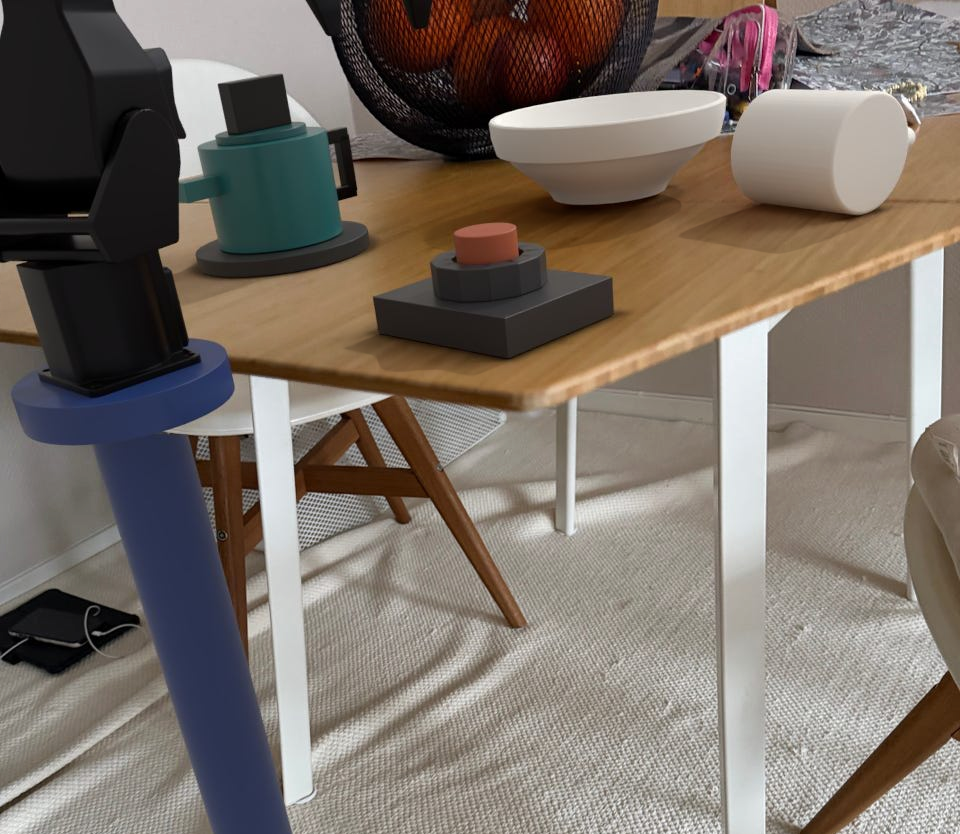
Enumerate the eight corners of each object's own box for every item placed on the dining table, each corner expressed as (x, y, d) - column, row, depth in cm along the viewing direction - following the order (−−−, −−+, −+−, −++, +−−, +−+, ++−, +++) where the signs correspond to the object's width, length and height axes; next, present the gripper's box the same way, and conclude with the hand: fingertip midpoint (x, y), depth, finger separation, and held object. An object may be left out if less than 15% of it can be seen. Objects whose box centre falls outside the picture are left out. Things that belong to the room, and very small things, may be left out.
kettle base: (263, 284, 80) (260, 268, 80) (166, 268, 89) (162, 253, 89) (405, 241, 88) (403, 225, 88) (302, 230, 97) (299, 215, 97)
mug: (827, 225, 77) (834, 100, 73) (728, 211, 85) (729, 97, 80) (940, 193, 82) (953, 74, 78) (837, 182, 89) (844, 74, 85)
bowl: (701, 219, 83) (701, 116, 79) (464, 228, 90) (453, 134, 86) (742, 171, 98) (743, 83, 95) (536, 182, 105) (530, 100, 101)
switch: (531, 256, 63) (529, 224, 62) (488, 271, 61) (484, 238, 60) (487, 251, 65) (484, 220, 64) (444, 265, 63) (440, 234, 62)
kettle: (233, 267, 80) (195, 93, 74) (164, 256, 87) (123, 95, 81) (396, 220, 89) (374, 61, 83) (322, 213, 96) (297, 65, 90)
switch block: (614, 314, 64) (611, 243, 62) (508, 359, 59) (501, 283, 57) (482, 295, 71) (476, 231, 69) (378, 333, 66) (367, 265, 64)
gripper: (542, -304, 62) (561, 9, 71) (345, -235, 75) (381, 24, 83) (393, -312, 56) (433, 31, 65) (206, -237, 69) (259, 44, 77)
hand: (375, 32), depth 72 cm, fingers open, 9 cm apart
